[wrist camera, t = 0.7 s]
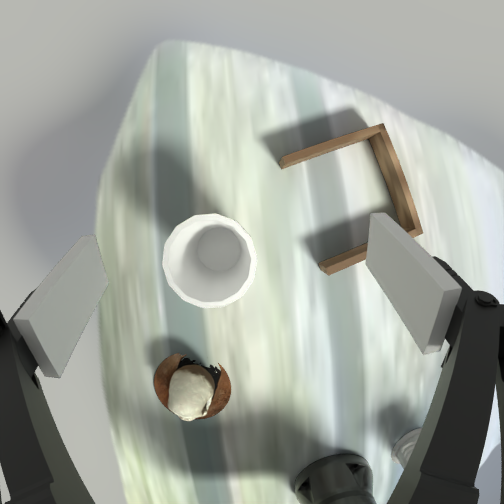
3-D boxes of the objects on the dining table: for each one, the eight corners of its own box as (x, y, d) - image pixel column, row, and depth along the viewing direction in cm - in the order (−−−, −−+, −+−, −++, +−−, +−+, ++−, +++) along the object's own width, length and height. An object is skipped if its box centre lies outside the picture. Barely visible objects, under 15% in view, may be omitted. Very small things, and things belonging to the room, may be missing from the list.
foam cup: (206, 294, 45) (192, 323, 32) (173, 236, 44) (145, 244, 32) (265, 261, 45) (274, 278, 32) (232, 202, 44) (227, 196, 31)
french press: (389, 440, 49) (446, 530, 24) (441, 416, 49) (510, 490, 24) (391, 470, 50) (438, 554, 25) (439, 448, 50) (496, 520, 25)
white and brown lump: (224, 430, 47) (174, 447, 39) (186, 394, 53) (137, 404, 45) (248, 372, 45) (194, 385, 37) (203, 338, 52) (151, 343, 44)
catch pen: (408, 231, 45) (423, 233, 41) (320, 269, 45) (328, 275, 41) (371, 130, 43) (383, 123, 39) (278, 162, 44) (282, 156, 39)
